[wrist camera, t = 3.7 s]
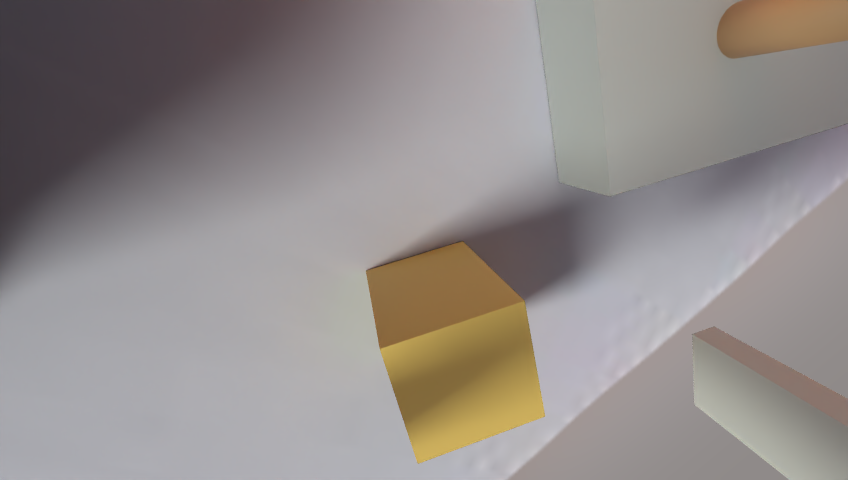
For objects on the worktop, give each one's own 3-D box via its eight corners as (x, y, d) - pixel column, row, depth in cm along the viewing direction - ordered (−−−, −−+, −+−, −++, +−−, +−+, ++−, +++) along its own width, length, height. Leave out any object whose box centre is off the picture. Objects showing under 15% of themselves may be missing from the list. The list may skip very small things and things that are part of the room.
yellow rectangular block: (392, 355, 21) (417, 463, 14) (365, 270, 19) (379, 348, 12) (481, 325, 21) (545, 416, 15) (462, 240, 20) (524, 301, 13)
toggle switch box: (559, 182, 20) (707, 223, 12) (529, -47, 17) (706, -203, 9) (761, 122, 21) (1015, 122, 13) (770, -100, 18) (1114, -276, 10)
